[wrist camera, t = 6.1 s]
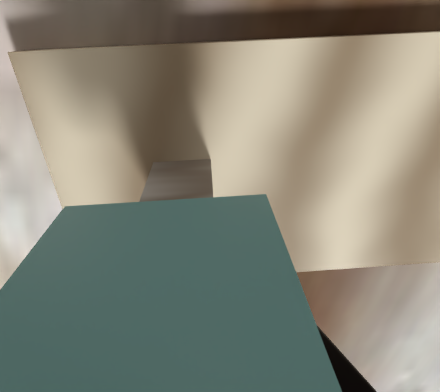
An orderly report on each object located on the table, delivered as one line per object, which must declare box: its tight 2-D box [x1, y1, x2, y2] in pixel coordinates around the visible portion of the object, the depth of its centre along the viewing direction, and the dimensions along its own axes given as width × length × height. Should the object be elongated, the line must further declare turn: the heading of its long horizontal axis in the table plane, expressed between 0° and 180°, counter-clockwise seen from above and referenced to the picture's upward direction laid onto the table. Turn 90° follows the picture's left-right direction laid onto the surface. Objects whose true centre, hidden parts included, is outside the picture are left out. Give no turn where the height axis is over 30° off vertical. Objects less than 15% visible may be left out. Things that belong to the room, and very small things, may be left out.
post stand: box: [8, 31, 440, 272], centre depth 12 cm, size 24×12×8 cm, turn 92°
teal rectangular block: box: [0, 194, 342, 392], centre depth 6 cm, size 5×5×7 cm
